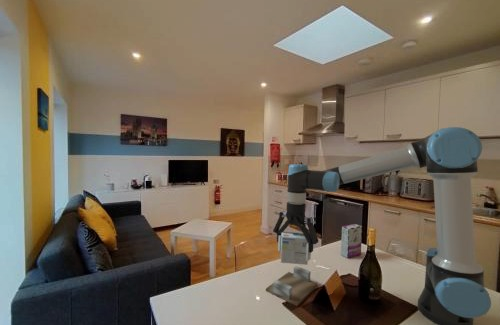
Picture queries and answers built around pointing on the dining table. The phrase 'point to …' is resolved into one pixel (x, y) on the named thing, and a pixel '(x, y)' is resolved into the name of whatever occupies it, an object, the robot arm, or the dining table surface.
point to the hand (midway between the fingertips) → (293, 254)
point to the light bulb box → (293, 248)
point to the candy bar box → (351, 240)
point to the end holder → (293, 286)
